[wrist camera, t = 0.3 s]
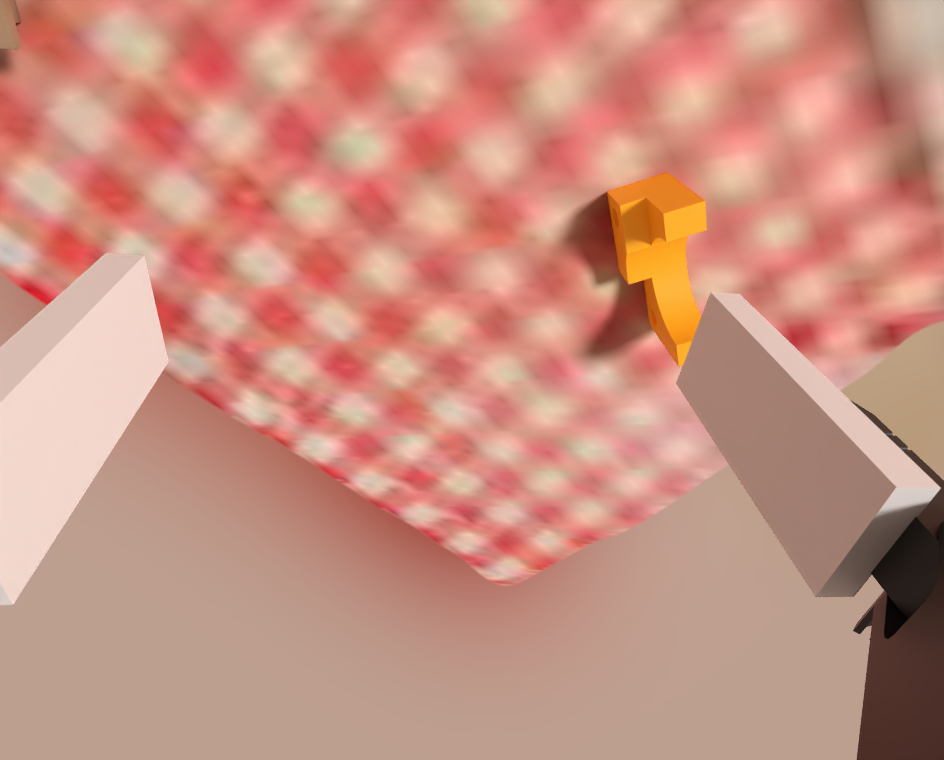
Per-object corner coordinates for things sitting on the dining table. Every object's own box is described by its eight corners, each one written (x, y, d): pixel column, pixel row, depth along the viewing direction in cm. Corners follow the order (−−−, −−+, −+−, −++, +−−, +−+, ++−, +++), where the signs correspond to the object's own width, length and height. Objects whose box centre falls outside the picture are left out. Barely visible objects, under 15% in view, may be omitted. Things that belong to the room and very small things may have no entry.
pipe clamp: (606, 190, 41) (635, 222, 35) (666, 171, 40) (705, 200, 35) (628, 329, 47) (655, 373, 42) (679, 314, 47) (713, 356, 42)
